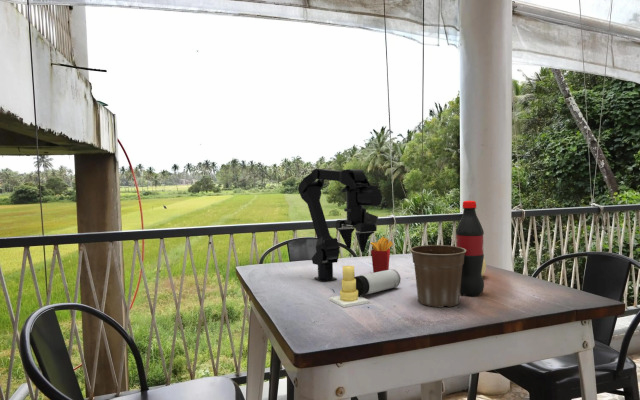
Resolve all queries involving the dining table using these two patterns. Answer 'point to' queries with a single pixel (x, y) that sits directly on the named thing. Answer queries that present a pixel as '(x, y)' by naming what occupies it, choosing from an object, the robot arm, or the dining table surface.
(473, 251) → the cola bottle
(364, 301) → the tile
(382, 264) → the french fries
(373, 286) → the travel mug
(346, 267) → the yellow domed knob
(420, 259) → the plant pot
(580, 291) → the dining table surface
